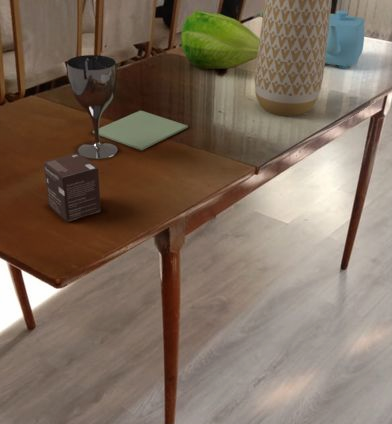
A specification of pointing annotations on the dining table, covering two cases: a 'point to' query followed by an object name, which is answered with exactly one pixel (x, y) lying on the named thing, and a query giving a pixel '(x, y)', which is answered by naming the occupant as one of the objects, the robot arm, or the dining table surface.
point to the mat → (141, 130)
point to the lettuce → (217, 41)
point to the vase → (291, 55)
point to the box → (72, 186)
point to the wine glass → (93, 96)
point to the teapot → (344, 39)
